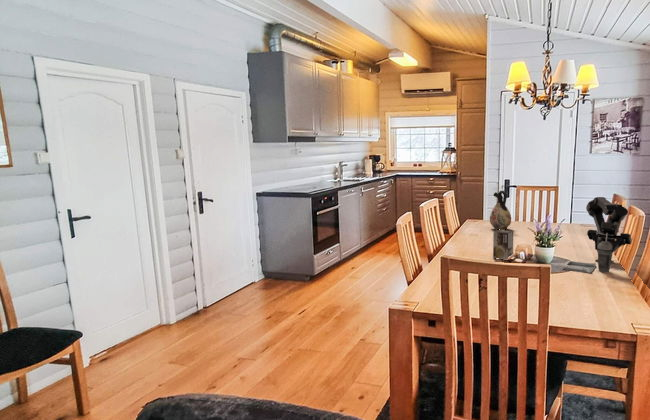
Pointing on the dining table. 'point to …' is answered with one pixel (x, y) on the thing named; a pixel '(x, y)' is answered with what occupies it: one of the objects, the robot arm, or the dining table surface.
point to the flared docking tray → (578, 267)
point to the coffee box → (502, 244)
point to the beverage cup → (604, 255)
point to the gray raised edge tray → (582, 266)
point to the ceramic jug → (500, 212)
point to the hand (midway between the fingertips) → (604, 250)
